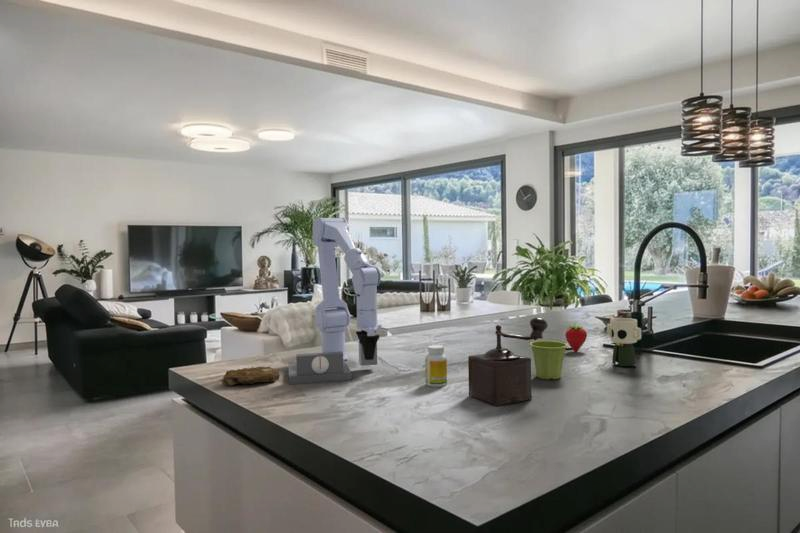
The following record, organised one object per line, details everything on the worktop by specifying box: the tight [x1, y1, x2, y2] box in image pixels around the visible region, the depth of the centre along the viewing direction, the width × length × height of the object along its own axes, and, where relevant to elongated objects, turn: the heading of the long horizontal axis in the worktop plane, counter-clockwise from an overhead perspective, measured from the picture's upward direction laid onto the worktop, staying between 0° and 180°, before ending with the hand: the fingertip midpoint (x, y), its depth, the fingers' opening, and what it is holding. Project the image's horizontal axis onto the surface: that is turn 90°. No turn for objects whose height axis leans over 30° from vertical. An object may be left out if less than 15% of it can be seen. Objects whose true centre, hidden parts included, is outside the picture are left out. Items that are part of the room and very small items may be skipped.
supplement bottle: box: [424, 344, 448, 388], centre depth 136 cm, size 5×5×10 cm
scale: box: [288, 351, 352, 385], centre depth 150 cm, size 18×16×7 cm
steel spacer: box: [358, 340, 378, 367], centre depth 154 cm, size 4×4×6 cm
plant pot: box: [529, 340, 568, 380], centre depth 141 cm, size 9×9×9 cm
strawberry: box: [564, 323, 588, 352], centre depth 174 cm, size 6×8×10 cm
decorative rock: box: [220, 366, 280, 387], centre depth 143 cm, size 11×4×15 cm
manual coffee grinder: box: [467, 317, 548, 407], centre depth 124 cm, size 16×11×18 cm
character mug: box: [606, 317, 642, 367], centre depth 153 cm, size 11×7×13 cm, turn 31°
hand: (367, 357), depth 154 cm, fingers closed on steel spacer, 4 cm apart
